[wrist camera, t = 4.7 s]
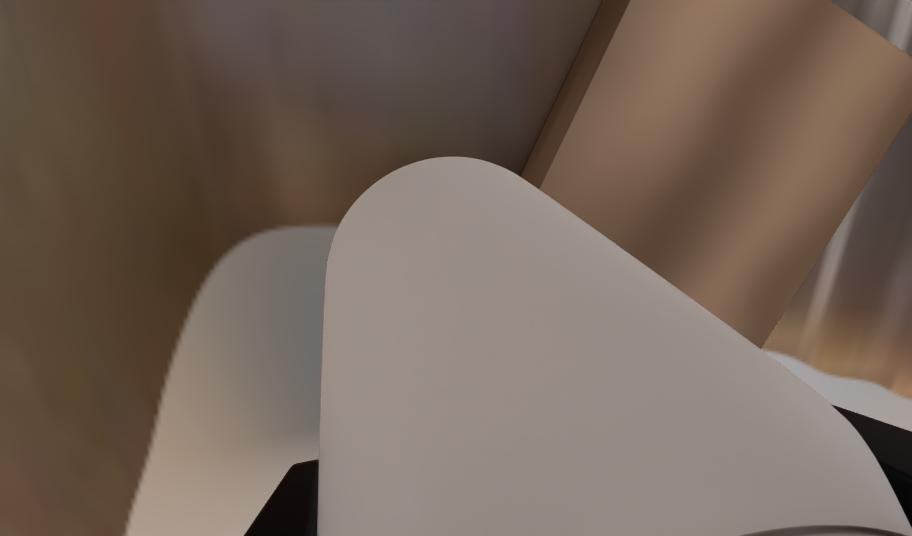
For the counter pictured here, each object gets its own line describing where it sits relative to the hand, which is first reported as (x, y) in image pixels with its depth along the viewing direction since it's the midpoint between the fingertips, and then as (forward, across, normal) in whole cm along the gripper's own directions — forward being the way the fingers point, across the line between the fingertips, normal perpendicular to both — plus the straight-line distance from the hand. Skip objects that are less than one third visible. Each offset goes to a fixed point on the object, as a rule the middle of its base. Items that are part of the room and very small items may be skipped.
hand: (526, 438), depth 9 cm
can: (+8, 0, 0) cm, 8 cm away
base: (+13, -11, -1) cm, 17 cm away
